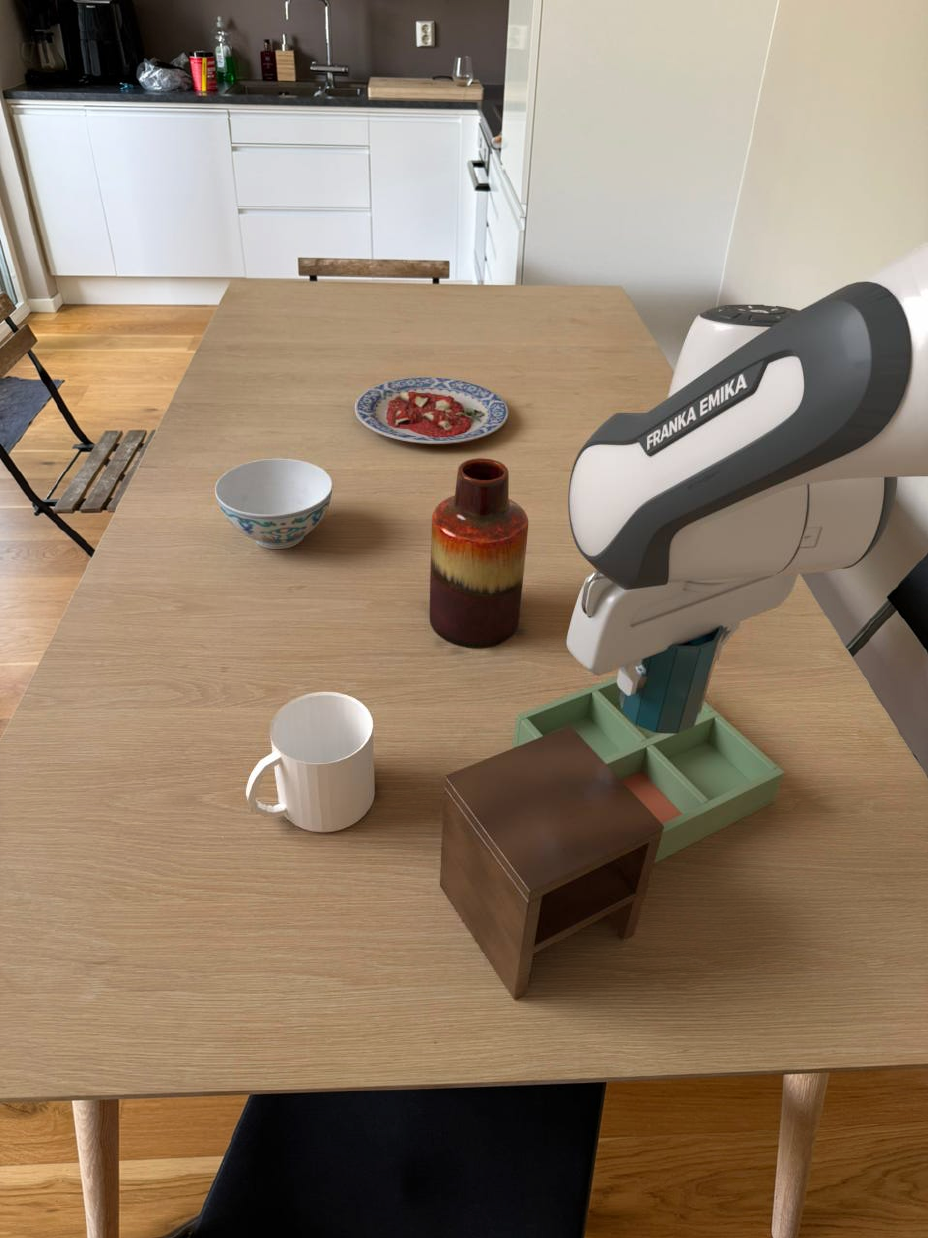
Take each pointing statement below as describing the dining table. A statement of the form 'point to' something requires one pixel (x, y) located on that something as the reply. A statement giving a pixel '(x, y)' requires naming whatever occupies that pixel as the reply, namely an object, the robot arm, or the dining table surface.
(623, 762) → the tray
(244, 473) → the chinaware
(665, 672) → the cup
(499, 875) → the shelf
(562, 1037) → the dining table surface
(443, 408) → the ceramic plate
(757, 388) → the robot arm
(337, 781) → the mug
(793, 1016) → the dining table surface
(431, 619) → the vase
